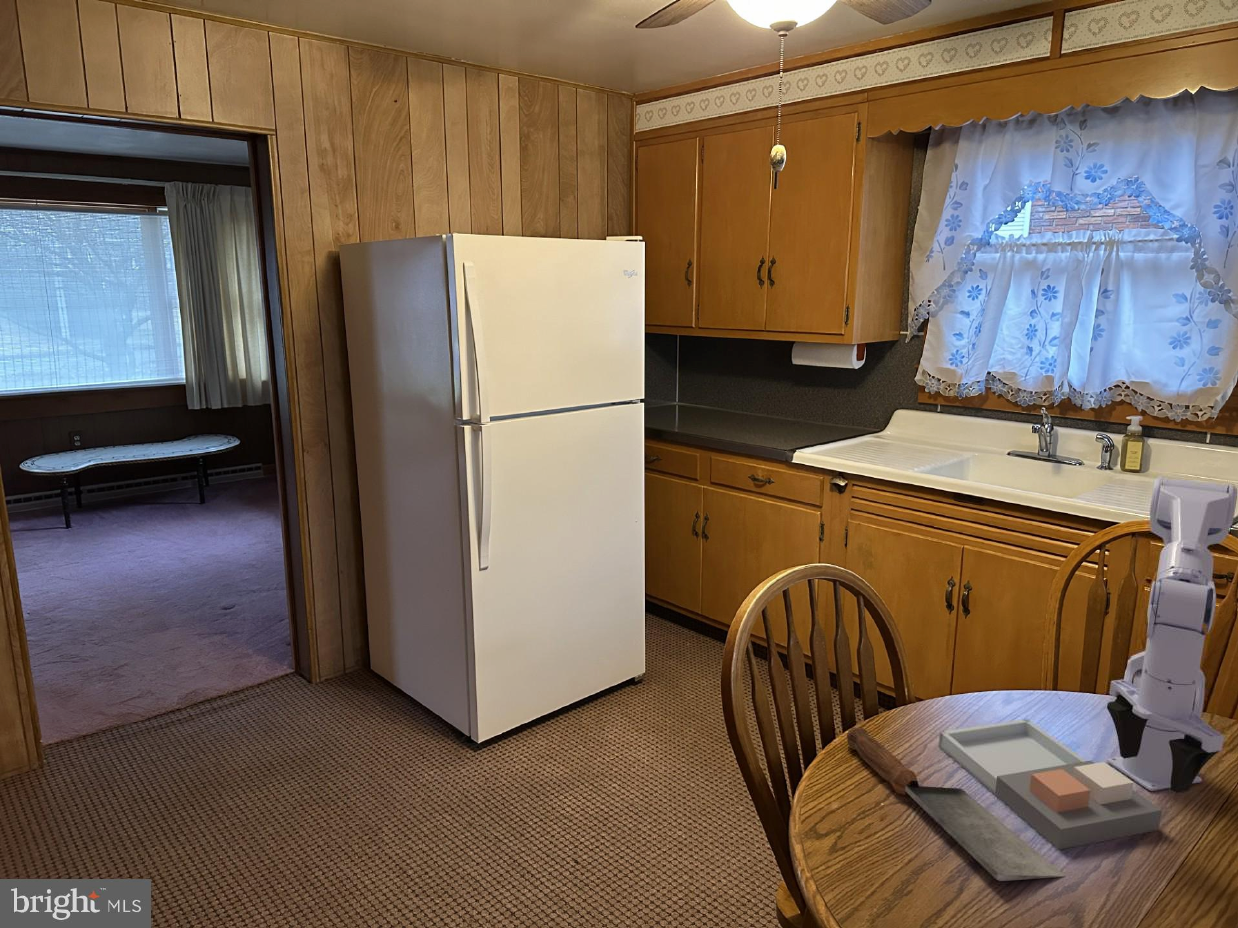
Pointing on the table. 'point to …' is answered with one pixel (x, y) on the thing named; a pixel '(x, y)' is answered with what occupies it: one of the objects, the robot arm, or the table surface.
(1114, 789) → the tile white
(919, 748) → the table surface
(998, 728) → the tray
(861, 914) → the table surface
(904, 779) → the meat cleaver
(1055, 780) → the tile terracotta
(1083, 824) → the board
